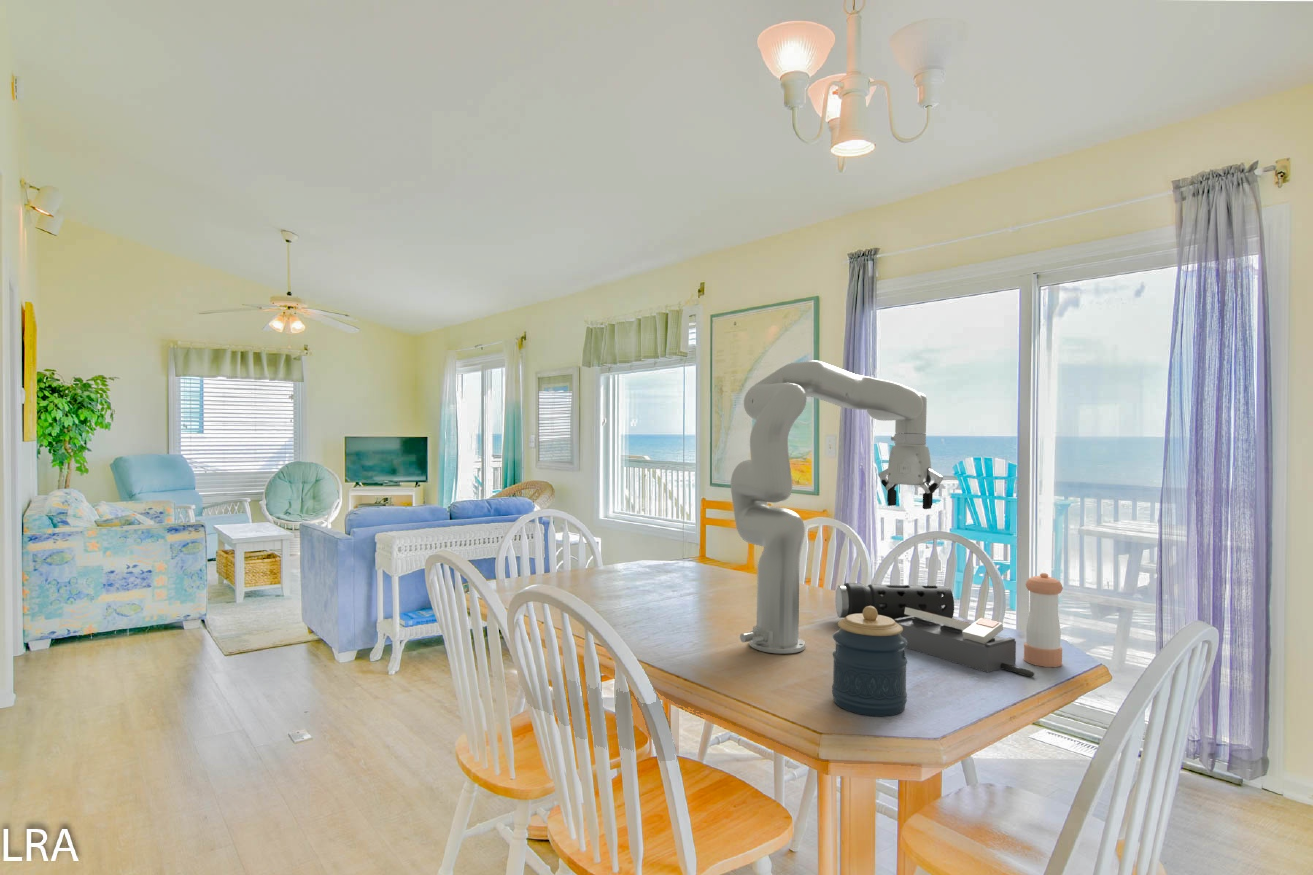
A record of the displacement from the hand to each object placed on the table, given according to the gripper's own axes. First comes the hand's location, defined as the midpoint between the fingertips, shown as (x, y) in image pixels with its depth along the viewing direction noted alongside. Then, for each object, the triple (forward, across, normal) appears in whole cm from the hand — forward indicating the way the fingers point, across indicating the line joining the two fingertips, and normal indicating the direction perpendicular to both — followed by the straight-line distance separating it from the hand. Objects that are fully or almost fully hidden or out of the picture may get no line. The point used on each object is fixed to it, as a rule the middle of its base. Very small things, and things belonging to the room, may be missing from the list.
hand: (909, 507), depth 188 cm
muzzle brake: (+31, -3, -2) cm, 31 cm away
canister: (+31, +24, -57) cm, 69 cm away
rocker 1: (+23, +12, -15) cm, 30 cm away
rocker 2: (+23, +19, -16) cm, 34 cm away
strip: (+30, +23, -17) cm, 41 cm away
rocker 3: (+23, +27, -17) cm, 40 cm away
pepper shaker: (+30, +35, -6) cm, 47 cm away
